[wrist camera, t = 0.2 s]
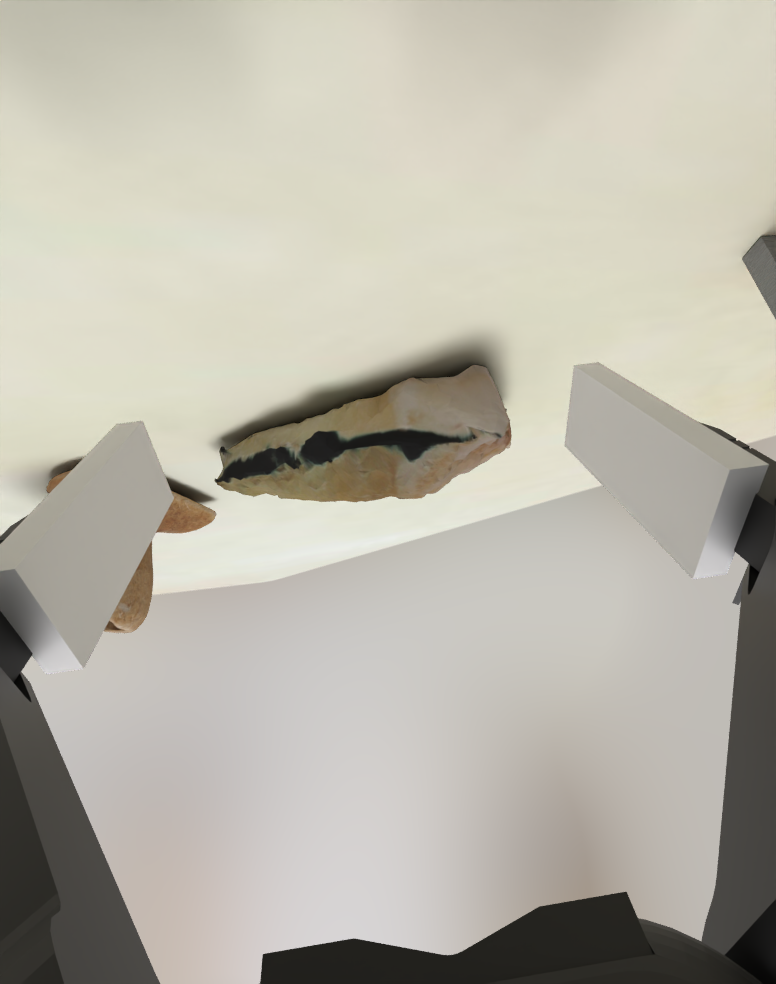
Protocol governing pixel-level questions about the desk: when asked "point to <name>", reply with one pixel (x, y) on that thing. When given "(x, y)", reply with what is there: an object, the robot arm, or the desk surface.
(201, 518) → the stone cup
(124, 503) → the robot arm
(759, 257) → the stand
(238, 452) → the mineral
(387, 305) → the desk surface
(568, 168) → the desk surface
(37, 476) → the desk surface
